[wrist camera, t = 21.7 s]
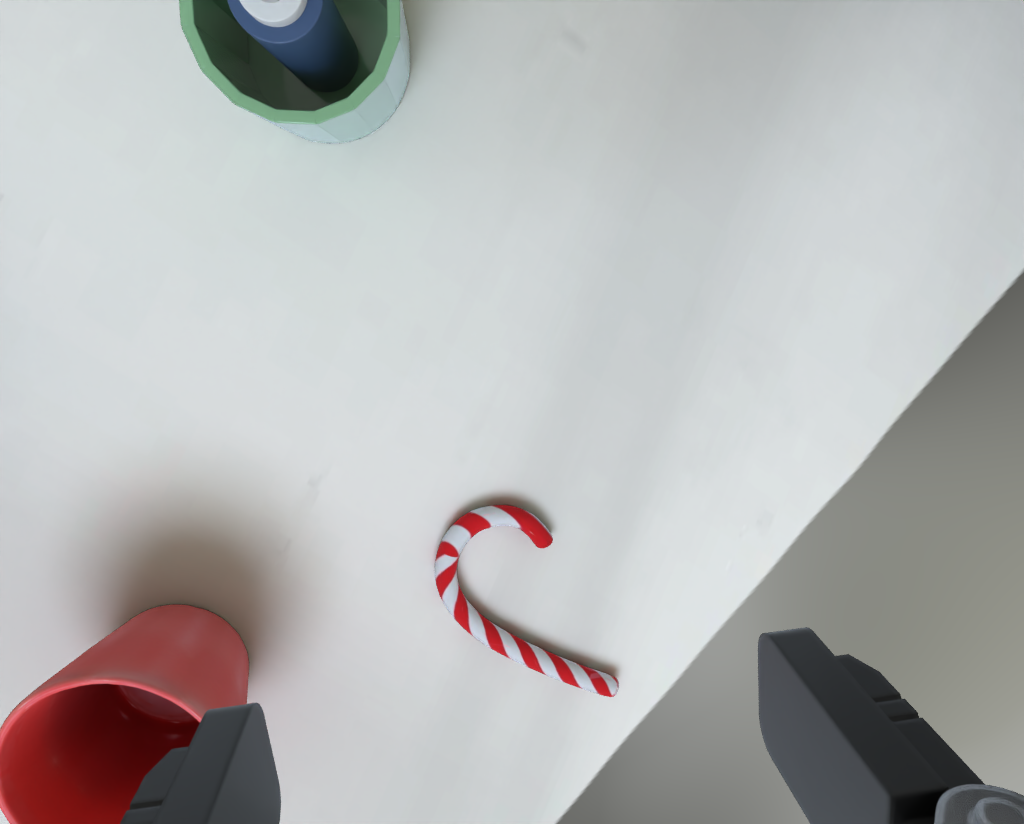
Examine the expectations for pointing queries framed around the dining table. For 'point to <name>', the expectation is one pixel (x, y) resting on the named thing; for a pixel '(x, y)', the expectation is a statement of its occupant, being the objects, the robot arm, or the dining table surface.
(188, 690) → the flower pot
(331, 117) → the cup
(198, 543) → the dining table surface
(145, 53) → the dining table surface
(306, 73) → the toothbrush
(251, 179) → the dining table surface
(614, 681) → the candy cane
